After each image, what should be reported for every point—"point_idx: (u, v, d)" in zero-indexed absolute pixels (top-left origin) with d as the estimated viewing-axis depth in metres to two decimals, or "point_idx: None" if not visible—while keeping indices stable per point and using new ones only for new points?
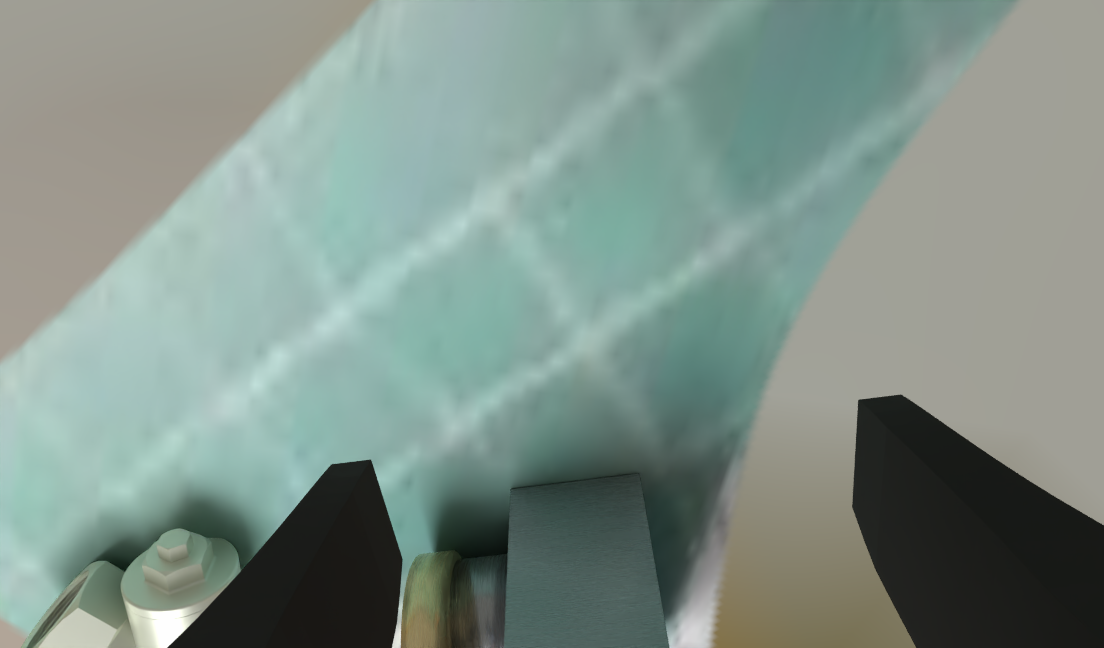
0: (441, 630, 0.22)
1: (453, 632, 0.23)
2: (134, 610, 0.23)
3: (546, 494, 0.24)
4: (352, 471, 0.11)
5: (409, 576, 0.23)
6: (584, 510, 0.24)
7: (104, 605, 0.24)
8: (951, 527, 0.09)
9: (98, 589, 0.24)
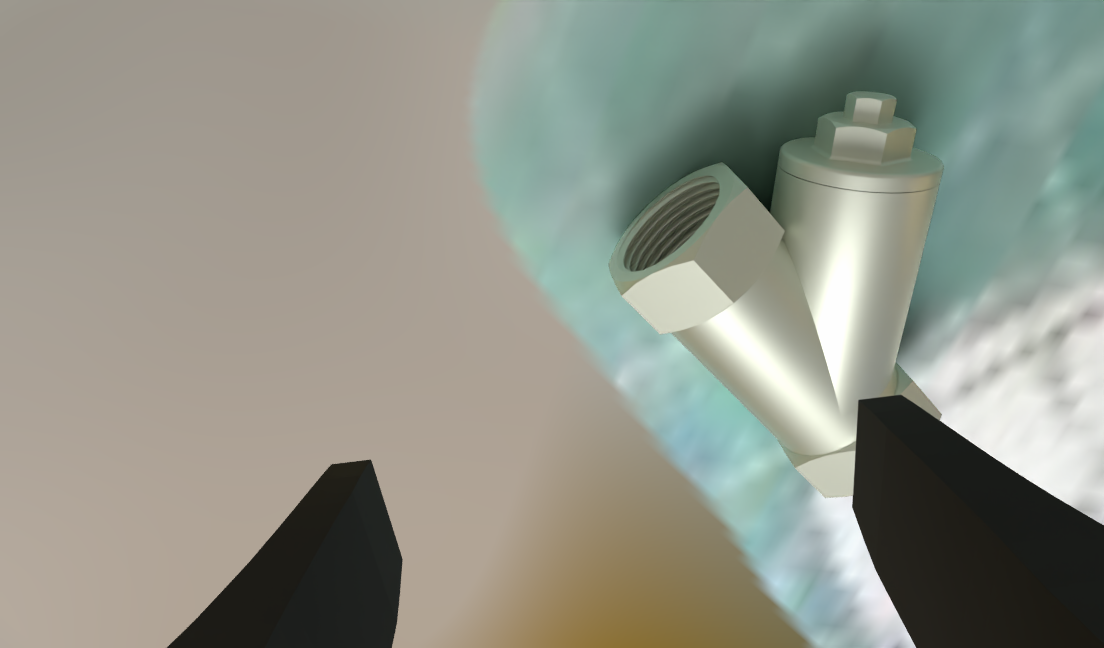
0: None
1: None
2: (844, 181, 0.16)
3: None
4: (352, 471, 0.11)
5: None
6: None
7: None
8: (951, 527, 0.09)
9: None
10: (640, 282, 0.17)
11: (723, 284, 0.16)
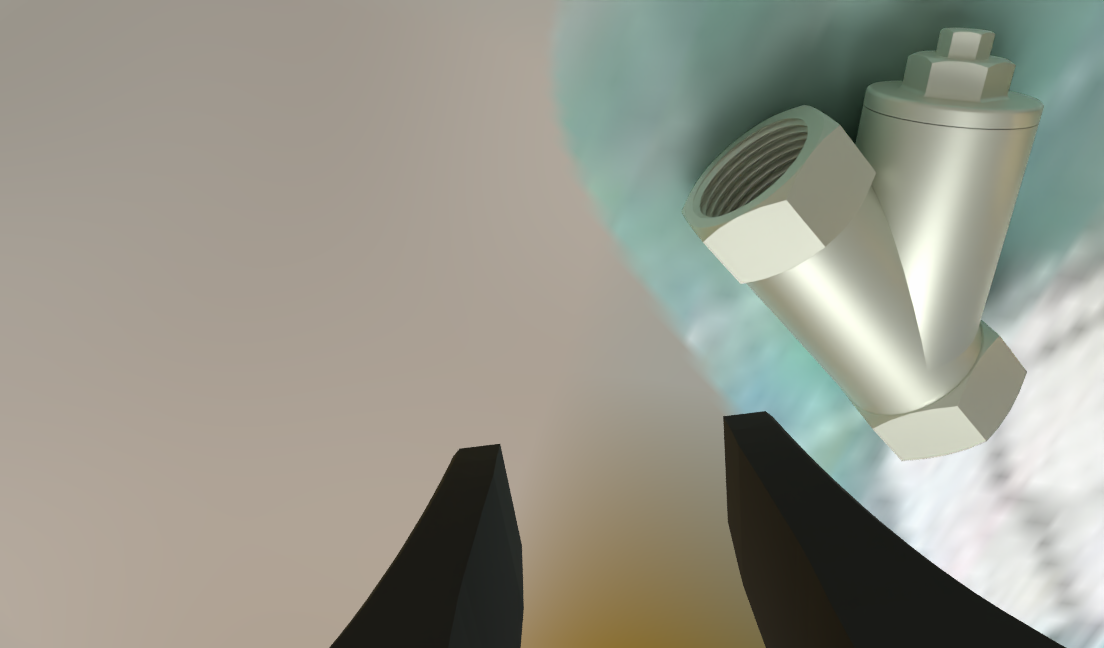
0: None
1: None
2: (944, 118, 0.15)
3: None
4: (485, 455, 0.11)
5: None
6: None
7: None
8: (782, 546, 0.09)
9: None
10: (725, 226, 0.16)
11: (815, 226, 0.15)
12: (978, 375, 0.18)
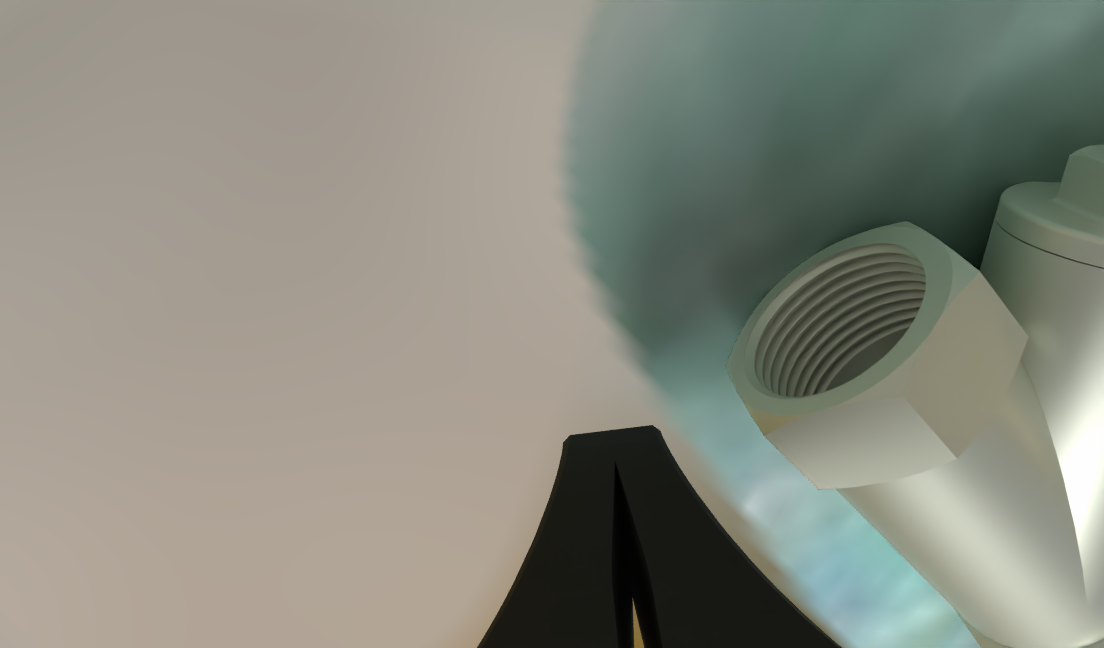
0: None
1: None
2: None
3: None
4: (600, 441, 0.11)
5: None
6: None
7: None
8: (640, 562, 0.09)
9: None
10: (800, 420, 0.10)
11: (943, 430, 0.10)
12: None
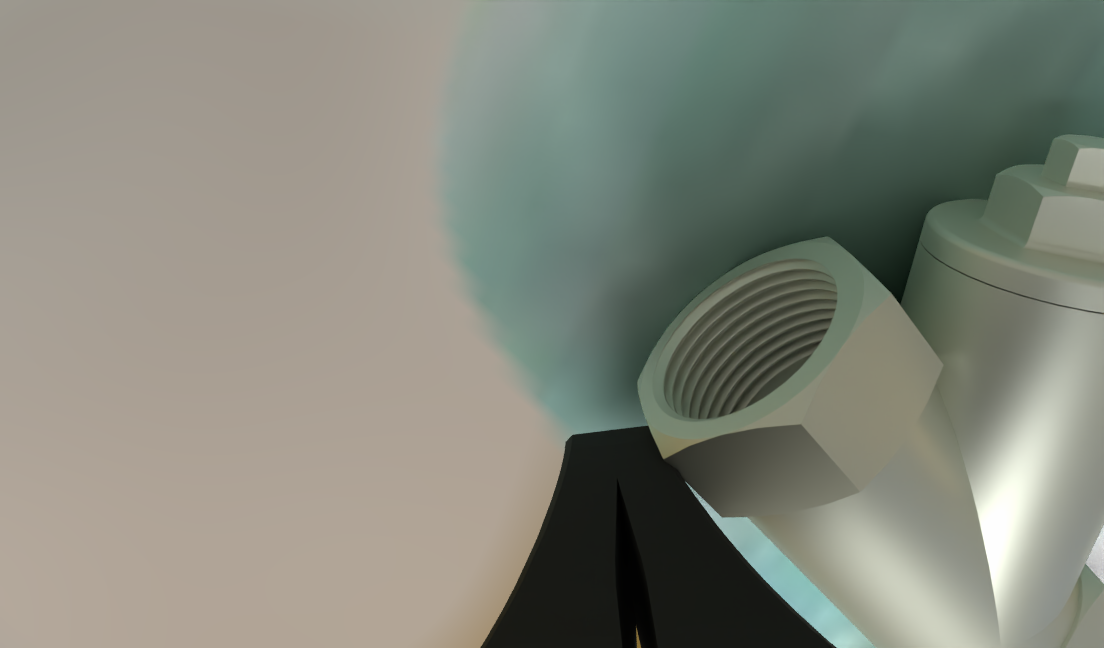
0: None
1: None
2: (1065, 294, 0.09)
3: None
4: (602, 440, 0.11)
5: None
6: None
7: None
8: (637, 563, 0.09)
9: None
10: (698, 445, 0.10)
11: (845, 461, 0.09)
12: None
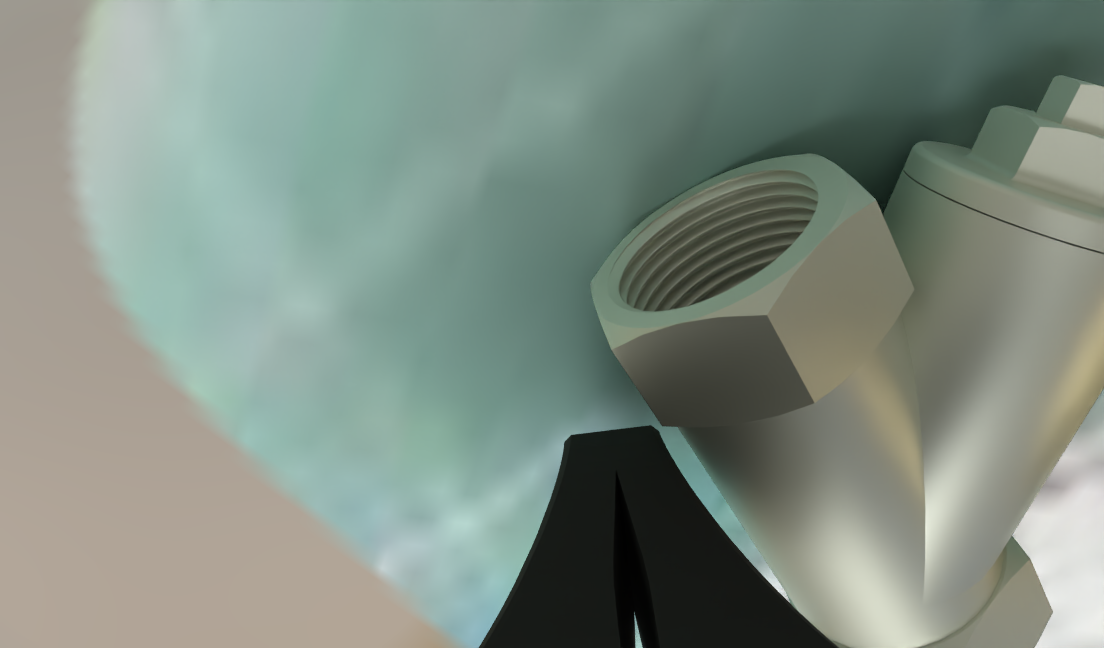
0: None
1: None
2: (1050, 223, 0.09)
3: None
4: (601, 441, 0.11)
5: None
6: None
7: None
8: (639, 563, 0.09)
9: None
10: (652, 334, 0.09)
11: (805, 367, 0.09)
12: (991, 617, 0.11)
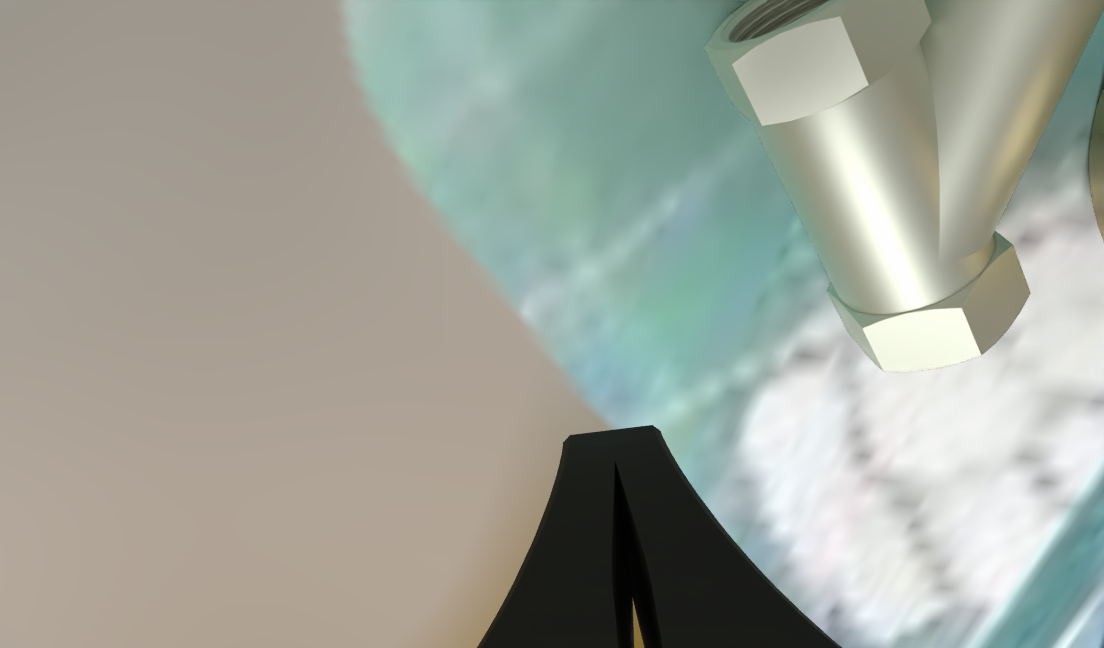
0: None
1: None
2: None
3: None
4: (600, 441, 0.11)
5: None
6: None
7: None
8: (641, 562, 0.09)
9: None
10: (762, 45, 0.14)
11: (862, 58, 0.14)
12: (986, 281, 0.16)
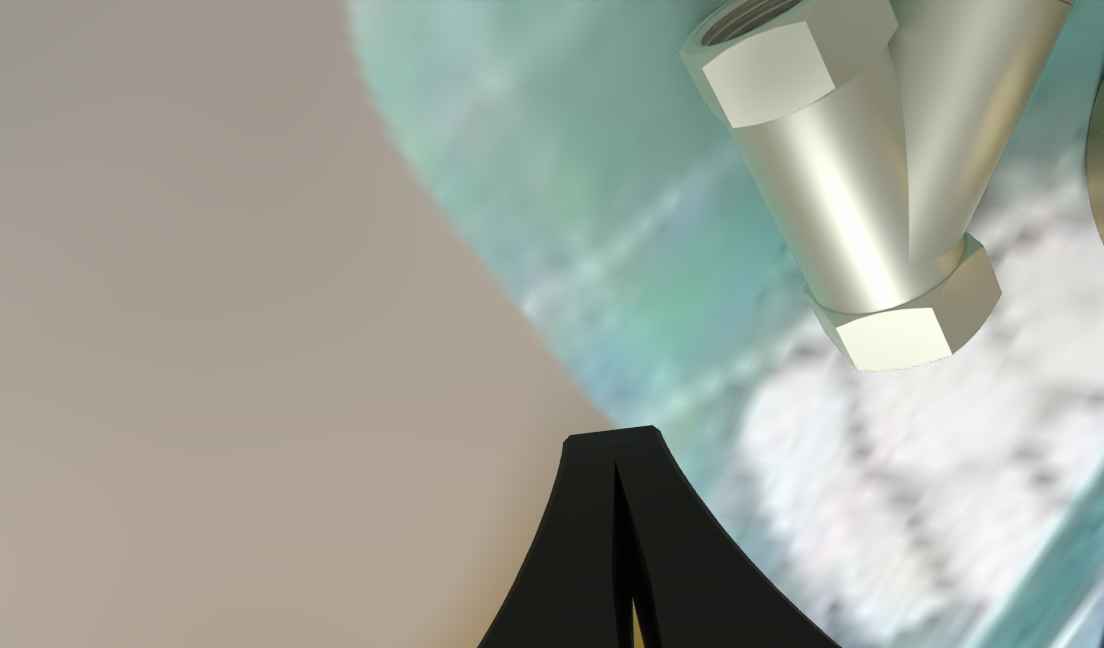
0: None
1: None
2: None
3: None
4: (599, 441, 0.11)
5: None
6: None
7: None
8: (641, 562, 0.09)
9: None
10: (730, 49, 0.14)
11: (829, 62, 0.14)
12: (956, 281, 0.16)
